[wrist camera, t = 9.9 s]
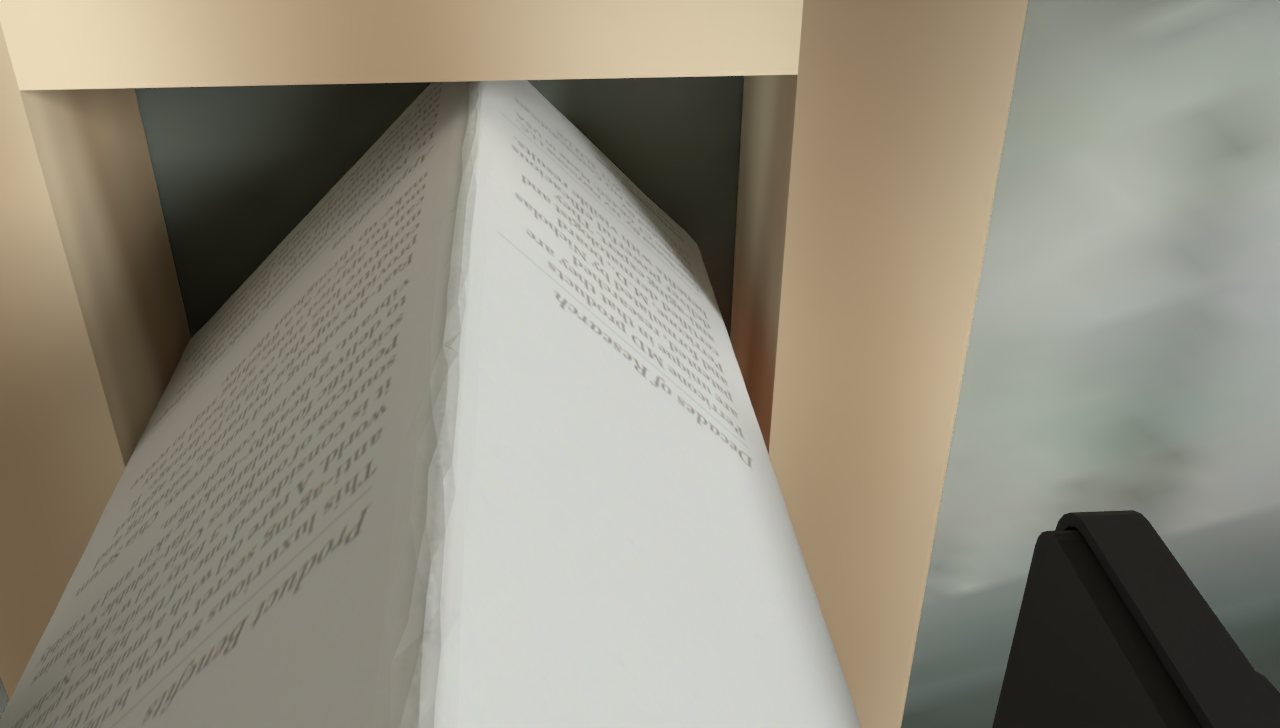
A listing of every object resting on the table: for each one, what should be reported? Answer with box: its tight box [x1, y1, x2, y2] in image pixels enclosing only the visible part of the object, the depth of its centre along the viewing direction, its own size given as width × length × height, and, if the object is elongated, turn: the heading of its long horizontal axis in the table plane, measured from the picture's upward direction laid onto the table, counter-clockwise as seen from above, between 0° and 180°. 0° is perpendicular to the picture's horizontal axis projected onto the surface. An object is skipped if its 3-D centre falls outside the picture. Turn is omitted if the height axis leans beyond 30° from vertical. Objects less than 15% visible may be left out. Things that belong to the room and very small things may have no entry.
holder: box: [0, 0, 1029, 728], centre depth 14 cm, size 12×12×3 cm
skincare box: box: [0, 80, 861, 728], centre depth 10 cm, size 6×4×12 cm
